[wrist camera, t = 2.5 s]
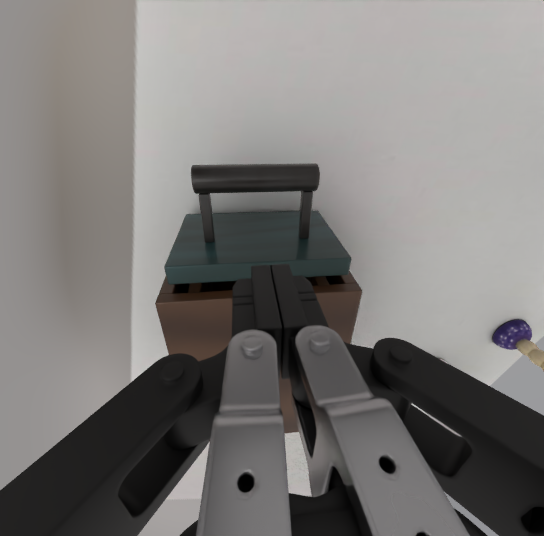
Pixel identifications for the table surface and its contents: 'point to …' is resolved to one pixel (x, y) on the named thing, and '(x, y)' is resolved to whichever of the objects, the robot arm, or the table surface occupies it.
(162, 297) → the cabinet
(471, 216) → the table surface
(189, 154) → the table surface
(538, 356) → the toy lamp
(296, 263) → the drawer
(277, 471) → the robot arm
